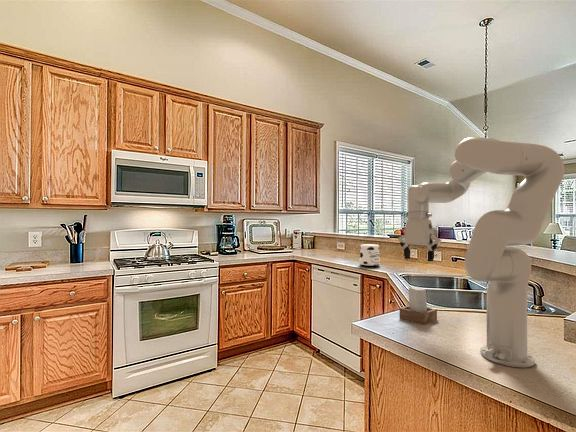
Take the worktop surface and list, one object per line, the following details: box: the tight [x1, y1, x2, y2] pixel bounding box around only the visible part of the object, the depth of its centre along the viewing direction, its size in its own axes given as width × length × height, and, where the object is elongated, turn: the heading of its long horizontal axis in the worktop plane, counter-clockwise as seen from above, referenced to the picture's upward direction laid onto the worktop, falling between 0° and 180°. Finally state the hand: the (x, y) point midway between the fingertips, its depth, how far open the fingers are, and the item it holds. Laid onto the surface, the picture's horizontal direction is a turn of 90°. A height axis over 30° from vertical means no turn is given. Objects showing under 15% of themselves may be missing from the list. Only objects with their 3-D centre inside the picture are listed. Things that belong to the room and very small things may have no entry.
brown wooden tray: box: [399, 305, 438, 326], centre depth 124 cm, size 10×10×4 cm
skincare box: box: [408, 286, 428, 313], centre depth 124 cm, size 6×4×12 cm
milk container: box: [358, 243, 381, 267], centre depth 264 cm, size 17×17×18 cm
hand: (418, 259), depth 124 cm, fingers open, 9 cm apart
